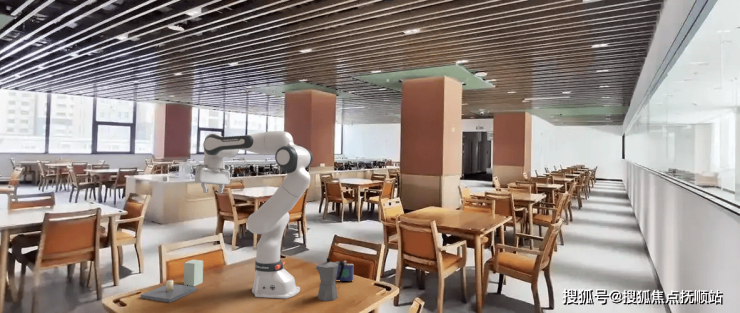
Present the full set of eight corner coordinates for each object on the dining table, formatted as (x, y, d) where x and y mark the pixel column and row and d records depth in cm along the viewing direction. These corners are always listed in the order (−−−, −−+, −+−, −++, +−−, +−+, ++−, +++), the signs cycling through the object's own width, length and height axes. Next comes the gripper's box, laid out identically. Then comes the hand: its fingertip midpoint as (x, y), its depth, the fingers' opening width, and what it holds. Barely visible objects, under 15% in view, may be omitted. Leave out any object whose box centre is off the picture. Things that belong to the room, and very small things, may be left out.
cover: (202, 282, 187) (203, 260, 188) (194, 286, 182) (194, 263, 182) (192, 281, 189) (193, 259, 189) (183, 285, 183) (184, 262, 183)
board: (196, 290, 176) (197, 277, 176) (170, 302, 161) (170, 288, 161) (169, 286, 181) (169, 274, 181) (140, 298, 165) (140, 284, 165)
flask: (353, 280, 196) (354, 260, 196) (353, 282, 193) (353, 261, 193) (336, 280, 196) (336, 259, 196) (335, 282, 193) (335, 261, 193)
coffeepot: (320, 303, 164) (321, 262, 164) (309, 297, 171) (310, 257, 171) (349, 296, 173) (350, 257, 173) (338, 290, 180) (339, 253, 181)
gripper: (201, 162, 179) (201, 191, 177) (232, 167, 198) (232, 193, 195) (191, 164, 181) (191, 192, 179) (223, 168, 200) (223, 194, 198)
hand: (213, 193), depth 187 cm, fingers open, 8 cm apart
